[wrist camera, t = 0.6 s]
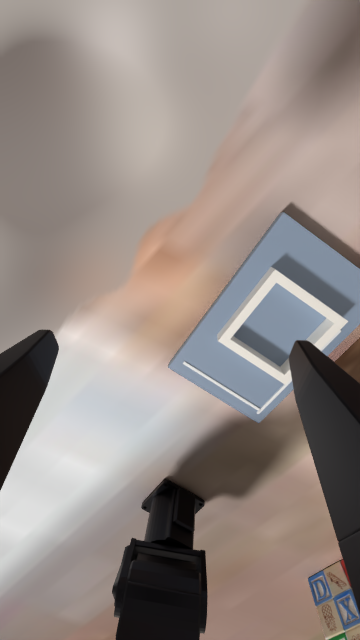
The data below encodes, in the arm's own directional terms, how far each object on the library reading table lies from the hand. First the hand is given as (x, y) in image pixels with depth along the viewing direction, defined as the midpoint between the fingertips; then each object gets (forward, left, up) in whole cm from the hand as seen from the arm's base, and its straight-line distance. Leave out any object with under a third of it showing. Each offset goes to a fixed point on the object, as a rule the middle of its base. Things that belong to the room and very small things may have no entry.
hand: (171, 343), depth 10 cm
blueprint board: (0, -9, -16) cm, 18 cm away
